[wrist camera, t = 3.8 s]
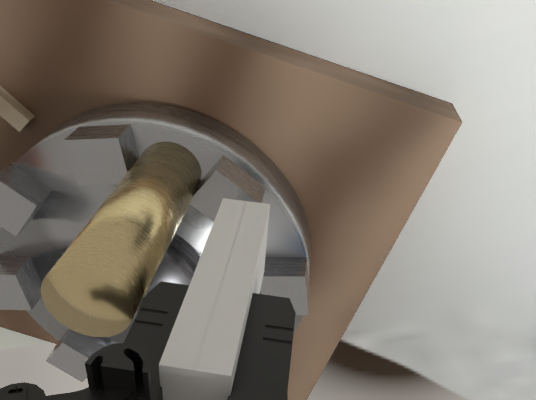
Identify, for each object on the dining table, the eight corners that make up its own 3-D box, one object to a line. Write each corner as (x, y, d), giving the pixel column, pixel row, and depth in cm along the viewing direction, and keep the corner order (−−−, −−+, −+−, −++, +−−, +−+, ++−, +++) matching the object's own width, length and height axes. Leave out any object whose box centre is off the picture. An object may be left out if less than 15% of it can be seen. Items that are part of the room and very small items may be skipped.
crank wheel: (358, 166, 20) (370, 347, 12) (262, 376, 28) (229, 575, 19) (25, 55, 20) (-202, 166, 11) (17, 300, 27) (-123, 474, 19)
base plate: (452, 103, 21) (464, 127, 19) (299, 389, 31) (296, 424, 29) (-15, -57, 20) (-58, -51, 18) (-10, 293, 30) (-37, 323, 28)
